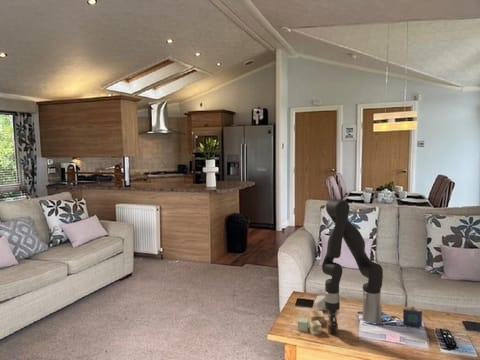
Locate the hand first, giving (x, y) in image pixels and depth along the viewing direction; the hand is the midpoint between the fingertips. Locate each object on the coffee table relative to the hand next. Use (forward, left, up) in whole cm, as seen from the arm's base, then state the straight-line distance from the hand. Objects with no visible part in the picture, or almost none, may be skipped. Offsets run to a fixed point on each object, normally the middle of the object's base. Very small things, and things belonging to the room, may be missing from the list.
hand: (332, 330), depth 191 cm
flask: (-43, -8, -1) cm, 44 cm away
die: (+2, -26, -1) cm, 26 cm away
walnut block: (0, 0, -1) cm, 1 cm away
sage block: (+15, -2, -1) cm, 15 cm away
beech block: (+9, +1, -1) cm, 9 cm away
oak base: (+7, -10, -1) cm, 12 cm away
